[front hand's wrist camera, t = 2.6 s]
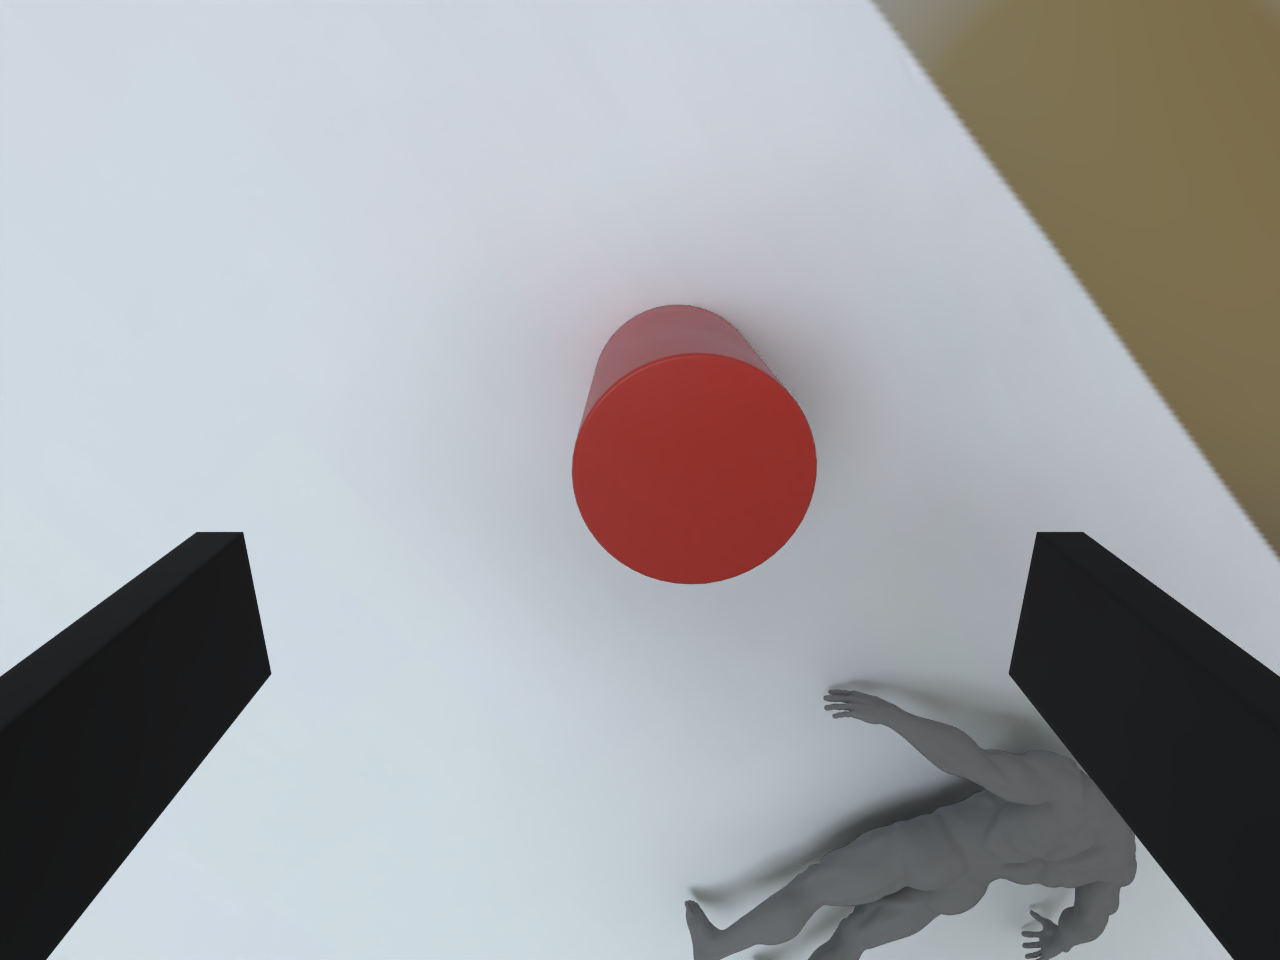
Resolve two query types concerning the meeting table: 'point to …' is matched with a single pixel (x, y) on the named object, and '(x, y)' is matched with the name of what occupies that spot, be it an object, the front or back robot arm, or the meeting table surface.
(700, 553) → the canister
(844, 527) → the meeting table surface
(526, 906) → the meeting table surface
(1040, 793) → the figurine
